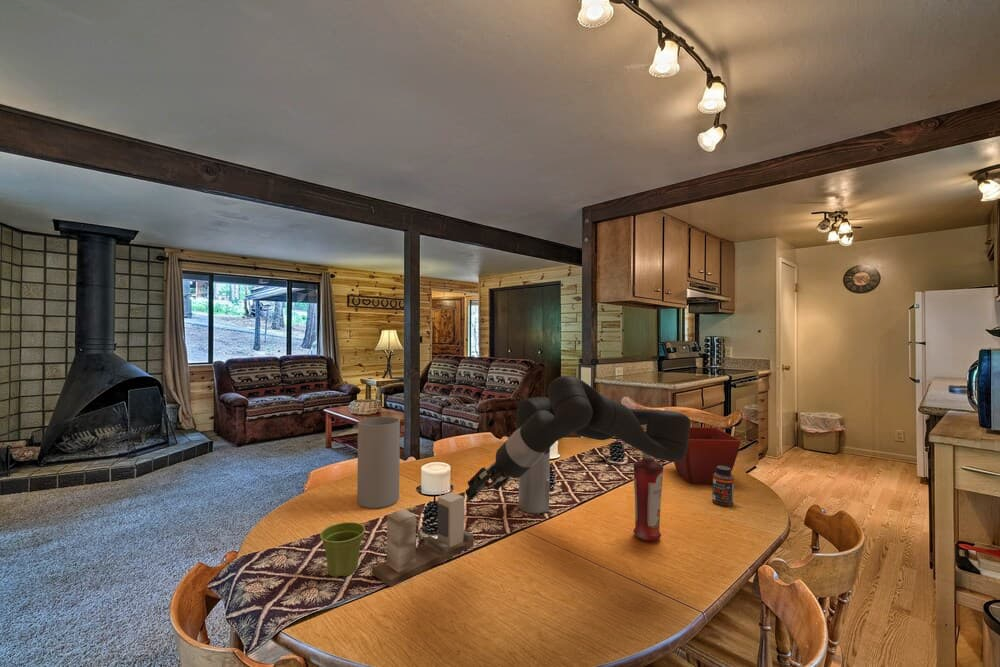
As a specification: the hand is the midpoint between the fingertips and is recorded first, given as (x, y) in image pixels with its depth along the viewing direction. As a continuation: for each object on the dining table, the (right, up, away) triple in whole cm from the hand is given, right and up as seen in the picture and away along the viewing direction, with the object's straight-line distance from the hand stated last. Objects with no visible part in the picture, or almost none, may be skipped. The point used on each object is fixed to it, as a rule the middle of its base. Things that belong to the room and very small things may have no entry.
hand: (481, 490), depth 100 cm
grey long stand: (-13, -17, +3) cm, 21 cm away
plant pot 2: (+78, -18, +61) cm, 100 cm away
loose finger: (-8, -15, +8) cm, 19 cm away
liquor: (+43, -18, +14) cm, 48 cm away
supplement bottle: (+74, -18, +38) cm, 85 cm away
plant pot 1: (-31, -17, -3) cm, 35 cm away
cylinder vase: (-34, -16, +36) cm, 52 cm away
